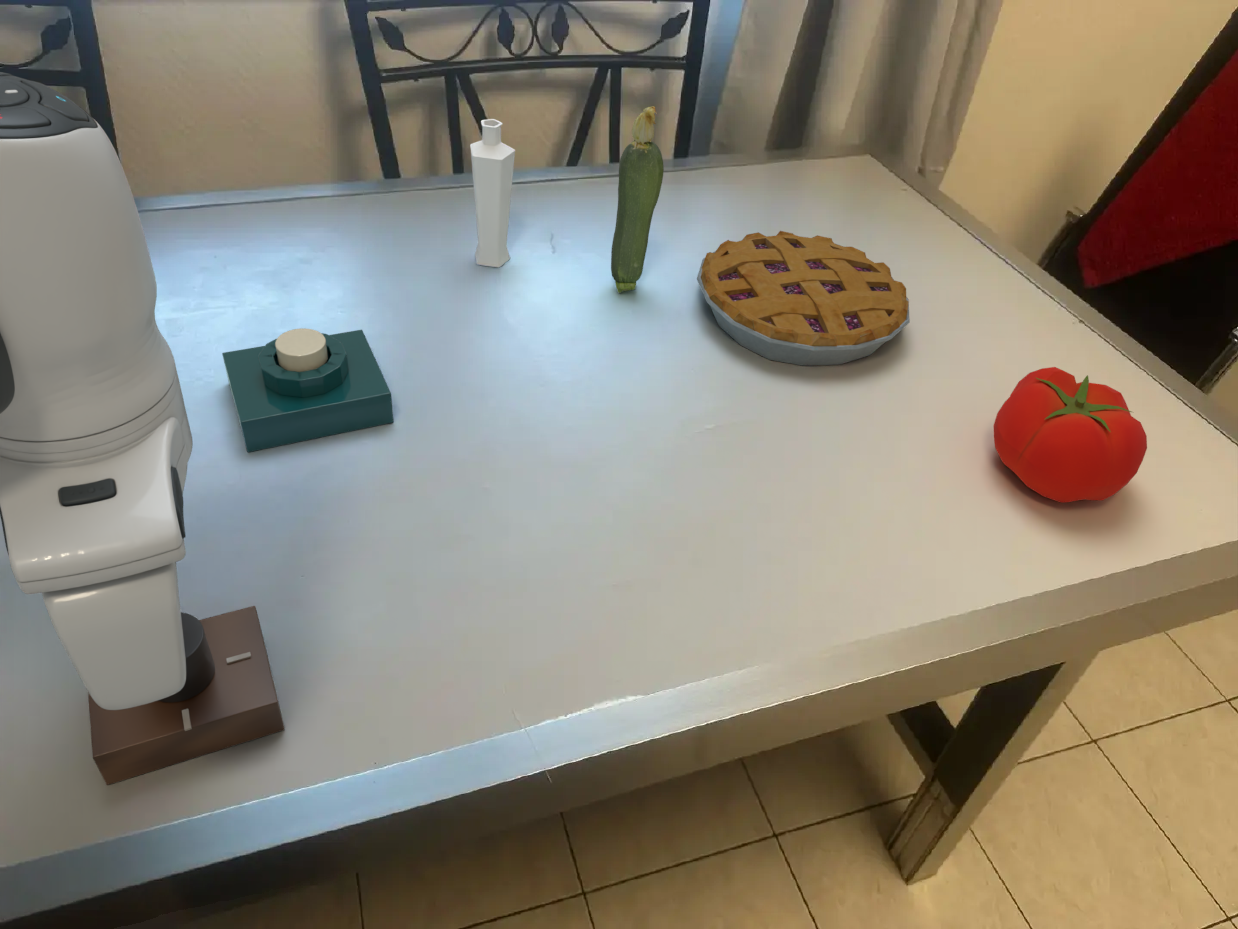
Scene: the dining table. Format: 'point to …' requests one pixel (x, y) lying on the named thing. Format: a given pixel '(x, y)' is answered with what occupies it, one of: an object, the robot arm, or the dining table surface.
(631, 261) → the vegetable
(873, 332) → the pie
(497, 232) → the perfume bottle
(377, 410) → the teal push button box
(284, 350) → the cream push button
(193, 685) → the dial
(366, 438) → the dining table surface
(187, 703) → the dial panel
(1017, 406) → the tomato
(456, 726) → the dining table surface
